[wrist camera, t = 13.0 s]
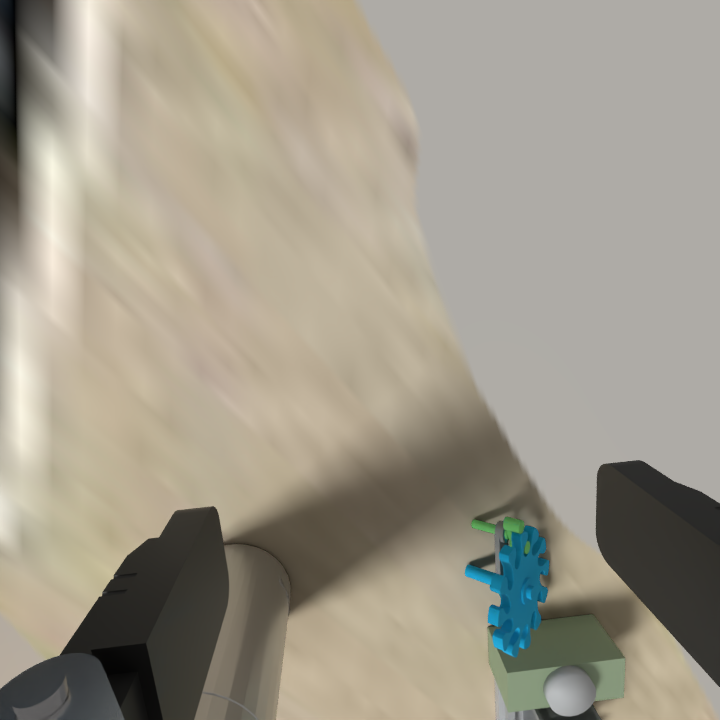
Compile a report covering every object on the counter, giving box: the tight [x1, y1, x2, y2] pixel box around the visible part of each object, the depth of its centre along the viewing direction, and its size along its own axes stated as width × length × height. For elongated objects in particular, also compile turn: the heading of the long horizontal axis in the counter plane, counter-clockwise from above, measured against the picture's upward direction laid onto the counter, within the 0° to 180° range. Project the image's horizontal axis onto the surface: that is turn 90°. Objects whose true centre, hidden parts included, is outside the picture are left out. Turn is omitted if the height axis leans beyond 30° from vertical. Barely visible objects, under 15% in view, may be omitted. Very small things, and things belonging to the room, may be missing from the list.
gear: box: [465, 517, 549, 658], centre depth 40 cm, size 11×6×10 cm
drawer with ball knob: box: [488, 614, 625, 720], centre depth 43 cm, size 10×13×6 cm
